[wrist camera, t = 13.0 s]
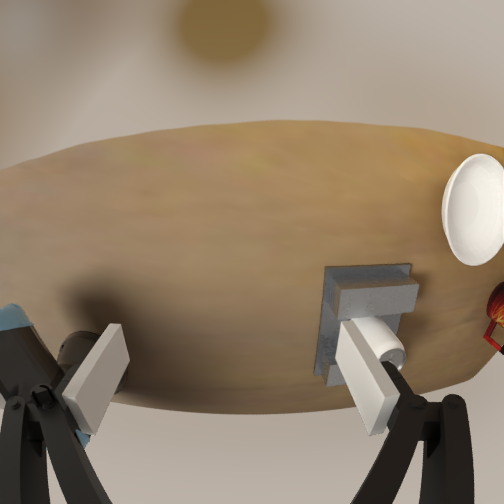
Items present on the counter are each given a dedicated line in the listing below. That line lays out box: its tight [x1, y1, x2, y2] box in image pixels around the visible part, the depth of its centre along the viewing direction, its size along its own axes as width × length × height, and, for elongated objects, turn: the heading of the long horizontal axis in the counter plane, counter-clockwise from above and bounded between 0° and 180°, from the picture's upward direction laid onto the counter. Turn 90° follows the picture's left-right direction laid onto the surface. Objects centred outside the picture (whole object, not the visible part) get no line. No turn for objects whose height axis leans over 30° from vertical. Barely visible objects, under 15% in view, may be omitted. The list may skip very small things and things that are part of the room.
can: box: [350, 316, 406, 371], centre depth 43 cm, size 6×6×12 cm
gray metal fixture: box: [314, 263, 419, 387], centre depth 47 cm, size 16×22×6 cm
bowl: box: [442, 154, 504, 266], centre depth 41 cm, size 20×20×6 cm
